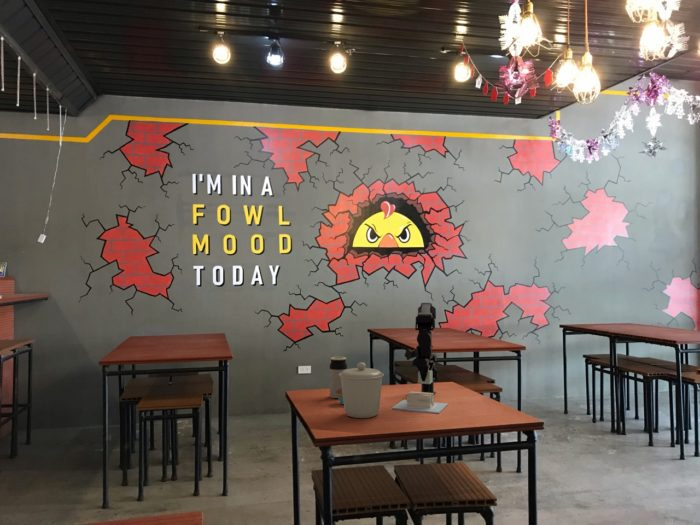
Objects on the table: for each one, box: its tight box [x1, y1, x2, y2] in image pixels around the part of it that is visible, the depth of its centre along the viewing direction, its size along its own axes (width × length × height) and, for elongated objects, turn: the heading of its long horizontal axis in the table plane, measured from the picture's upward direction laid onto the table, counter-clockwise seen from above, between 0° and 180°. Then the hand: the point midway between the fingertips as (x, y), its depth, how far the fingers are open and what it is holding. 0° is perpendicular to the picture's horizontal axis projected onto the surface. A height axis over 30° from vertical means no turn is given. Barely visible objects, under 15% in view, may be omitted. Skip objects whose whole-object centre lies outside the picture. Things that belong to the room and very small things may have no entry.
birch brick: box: [406, 391, 435, 408], centre depth 235 cm, size 6×10×5 cm, turn 69°
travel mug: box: [329, 356, 348, 399], centre depth 254 cm, size 8×8×18 cm
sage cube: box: [417, 370, 433, 384], centre depth 236 cm, size 5×5×5 cm
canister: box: [339, 361, 385, 419], centre depth 222 cm, size 18×18×21 cm
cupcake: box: [336, 387, 344, 405], centre depth 242 cm, size 9×8×12 cm
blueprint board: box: [391, 399, 449, 414], centre depth 235 cm, size 16×20×1 cm
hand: (425, 380), depth 236 cm, fingers closed on sage cube, 5 cm apart
